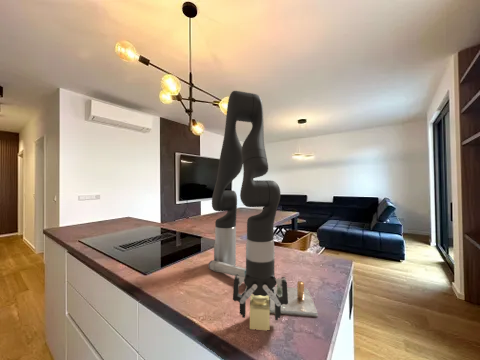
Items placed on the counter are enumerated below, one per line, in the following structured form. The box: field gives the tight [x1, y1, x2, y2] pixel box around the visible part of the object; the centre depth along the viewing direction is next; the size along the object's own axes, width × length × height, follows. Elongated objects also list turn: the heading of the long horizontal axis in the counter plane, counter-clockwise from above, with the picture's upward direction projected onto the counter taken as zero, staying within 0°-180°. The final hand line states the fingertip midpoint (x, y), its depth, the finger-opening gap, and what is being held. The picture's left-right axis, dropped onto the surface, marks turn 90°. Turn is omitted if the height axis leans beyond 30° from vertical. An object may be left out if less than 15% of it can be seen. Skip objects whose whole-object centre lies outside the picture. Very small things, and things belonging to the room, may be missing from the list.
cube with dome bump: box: [249, 294, 271, 331], centre depth 55 cm, size 5×5×7 cm
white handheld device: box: [208, 259, 247, 288], centre depth 80 cm, size 5×7×25 cm
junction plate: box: [266, 280, 319, 318], centre depth 65 cm, size 17×13×6 cm
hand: (260, 317), depth 54 cm, fingers open, 8 cm apart
